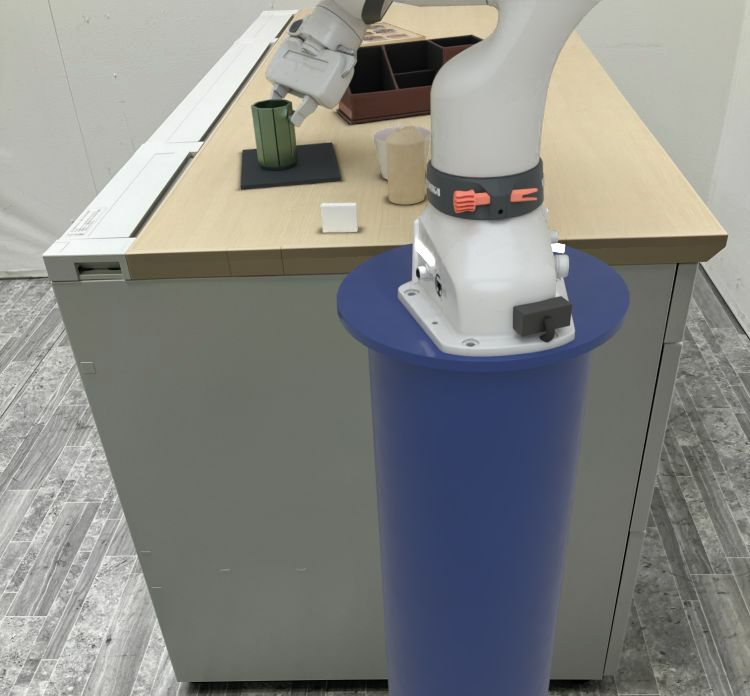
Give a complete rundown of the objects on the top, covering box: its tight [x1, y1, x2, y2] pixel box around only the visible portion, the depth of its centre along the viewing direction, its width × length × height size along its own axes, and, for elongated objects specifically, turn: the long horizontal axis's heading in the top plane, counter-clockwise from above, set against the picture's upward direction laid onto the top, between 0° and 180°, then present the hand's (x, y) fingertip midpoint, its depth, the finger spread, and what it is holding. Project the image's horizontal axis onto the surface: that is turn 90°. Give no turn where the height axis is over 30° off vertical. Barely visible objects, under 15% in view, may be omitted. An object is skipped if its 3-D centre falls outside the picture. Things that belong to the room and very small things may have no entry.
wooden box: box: [360, 21, 427, 47], centre depth 199 cm, size 25×6×28 cm
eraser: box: [319, 202, 359, 233], centre depth 114 cm, size 1×5×4 cm, turn 85°
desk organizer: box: [335, 34, 485, 125], centre depth 161 cm, size 10×29×11 cm, turn 107°
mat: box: [240, 141, 342, 190], centre depth 139 cm, size 20×16×1 cm
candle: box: [386, 125, 426, 205], centre depth 121 cm, size 6×6×10 cm
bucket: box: [250, 98, 298, 171], centre depth 135 cm, size 10×6×6 cm
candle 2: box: [372, 125, 431, 181], centre depth 130 cm, size 9×9×6 cm
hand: (280, 118), depth 134 cm, fingers open, 7 cm apart
